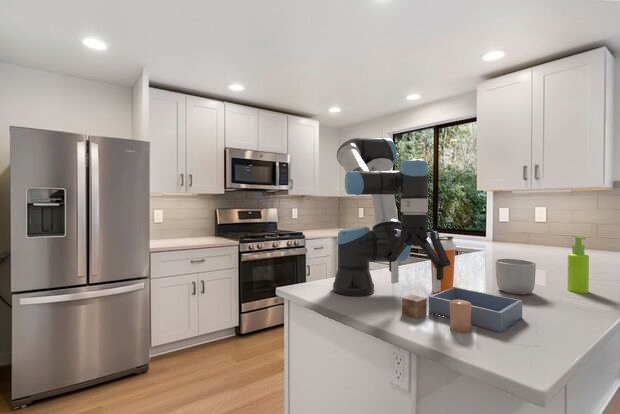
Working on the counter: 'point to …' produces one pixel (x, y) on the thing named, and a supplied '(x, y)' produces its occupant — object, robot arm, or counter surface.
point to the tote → (479, 308)
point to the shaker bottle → (448, 270)
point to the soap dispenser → (578, 268)
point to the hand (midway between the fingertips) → (414, 287)
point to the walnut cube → (414, 306)
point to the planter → (515, 275)
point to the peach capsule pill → (460, 316)
